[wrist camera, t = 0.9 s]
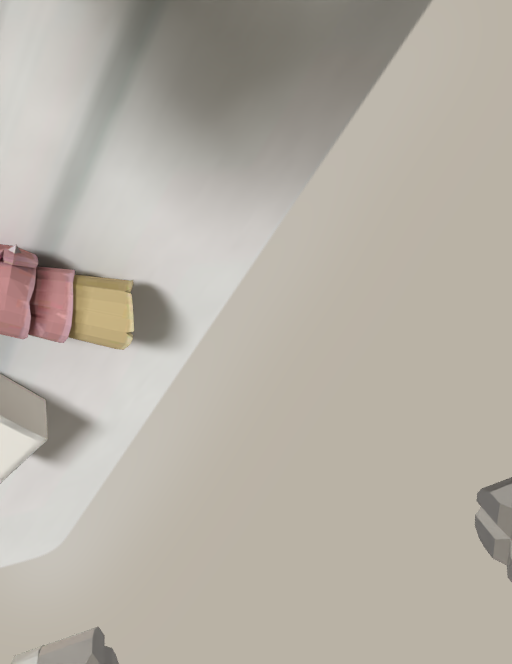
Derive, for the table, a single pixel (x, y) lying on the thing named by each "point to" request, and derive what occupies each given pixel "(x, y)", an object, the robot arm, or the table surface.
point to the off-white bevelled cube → (19, 425)
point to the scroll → (62, 303)
